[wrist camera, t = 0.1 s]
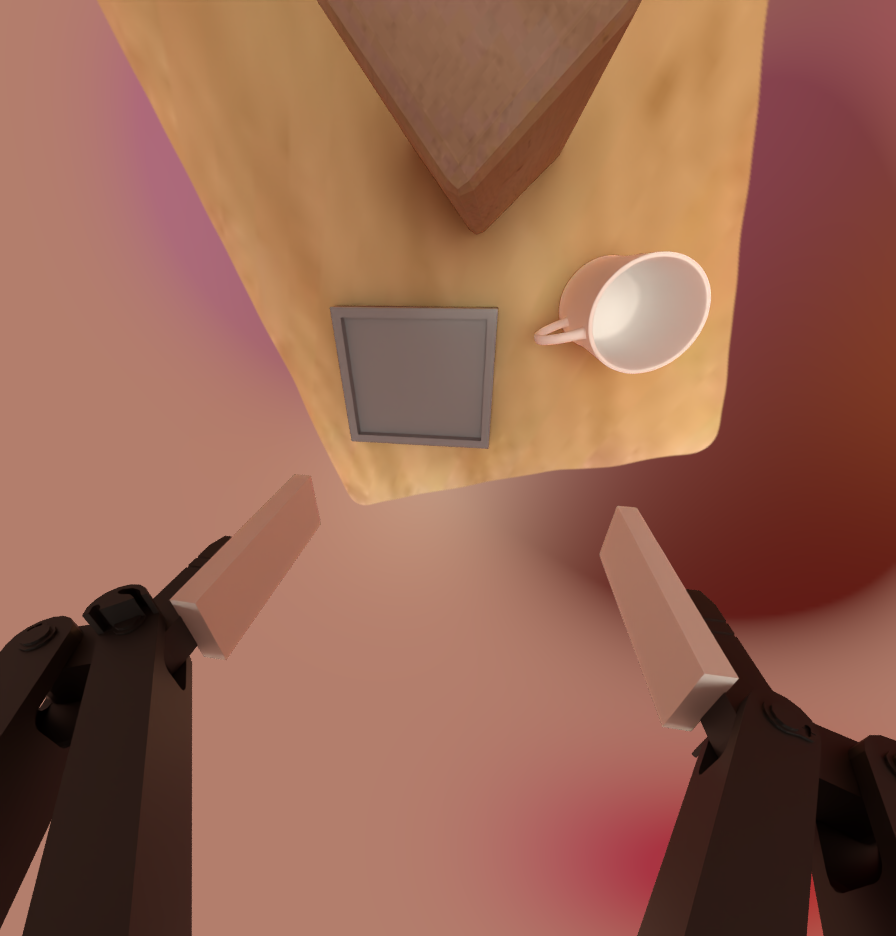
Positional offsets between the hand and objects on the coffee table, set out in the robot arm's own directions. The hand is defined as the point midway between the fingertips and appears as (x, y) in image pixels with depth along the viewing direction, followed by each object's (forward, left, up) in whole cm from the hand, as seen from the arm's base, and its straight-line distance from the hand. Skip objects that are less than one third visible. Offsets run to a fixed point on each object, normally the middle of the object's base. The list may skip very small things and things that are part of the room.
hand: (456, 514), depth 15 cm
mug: (-6, +11, -28) cm, 31 cm away
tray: (+2, -7, -28) cm, 29 cm away
